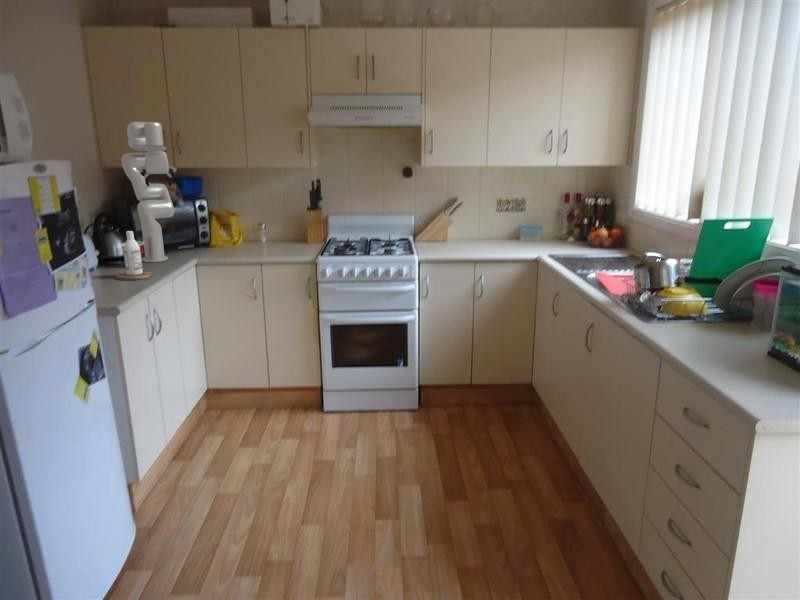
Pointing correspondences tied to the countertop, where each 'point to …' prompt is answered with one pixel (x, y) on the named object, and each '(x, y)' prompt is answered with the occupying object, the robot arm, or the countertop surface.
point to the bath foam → (132, 255)
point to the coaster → (134, 276)
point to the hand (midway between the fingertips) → (159, 186)
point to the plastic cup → (139, 246)
